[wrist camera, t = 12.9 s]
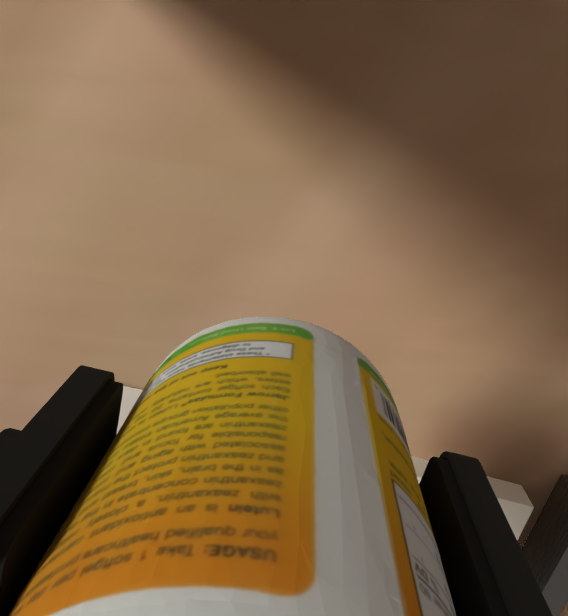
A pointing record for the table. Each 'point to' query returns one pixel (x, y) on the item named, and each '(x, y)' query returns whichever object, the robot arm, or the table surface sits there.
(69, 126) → the table surface
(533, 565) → the frame
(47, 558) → the supplement bottle
